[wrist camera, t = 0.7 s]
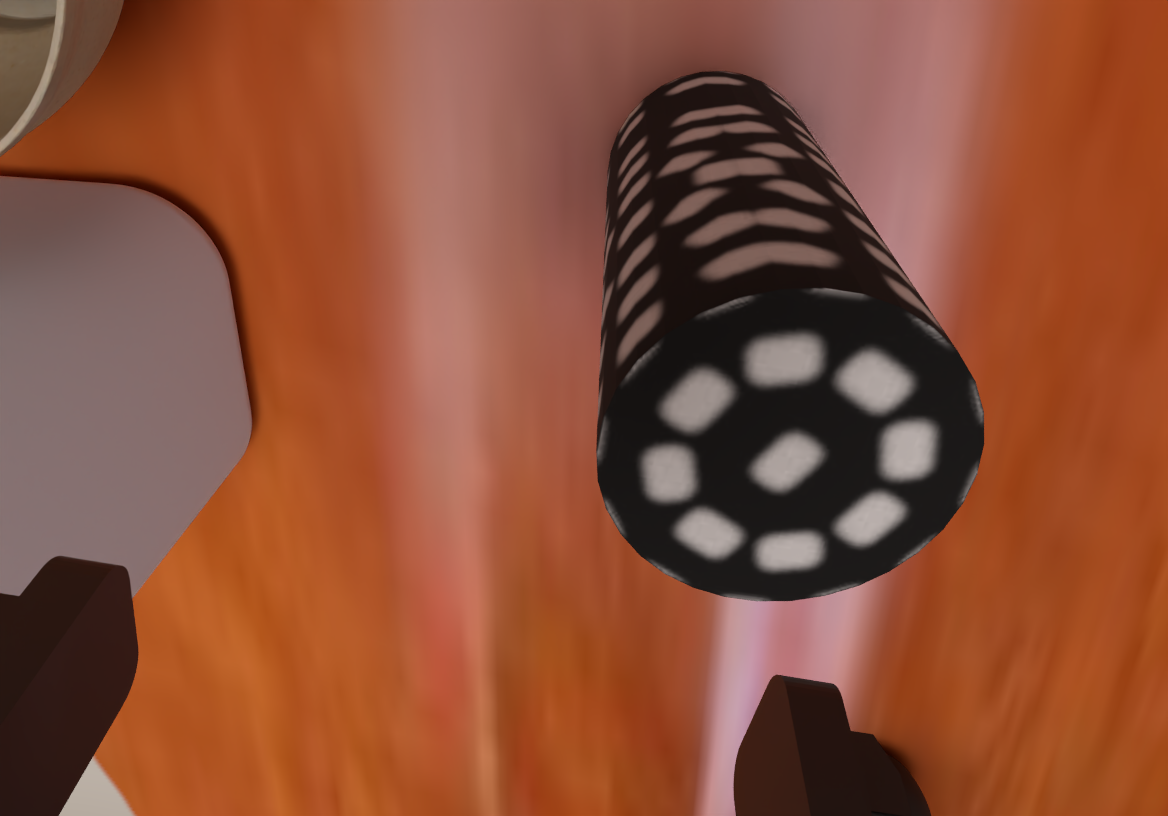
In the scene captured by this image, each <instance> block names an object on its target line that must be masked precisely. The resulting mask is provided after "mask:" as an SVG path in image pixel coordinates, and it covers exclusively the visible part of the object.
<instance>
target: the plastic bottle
mask: <svg viewBox="0 0 1168 816" xmlns="http://www.w3.org/2000/svg"><path fill="white" fill-rule="evenodd" d="M251 430H252V415H251V408H250V402H249V396H248V390H247V384H246V378H245V372H244V366H243V360H242V354H241V348H240V342H239V336H238V330H237V324H236V318H235V312H234V306H233V301H232V295H231V289H230V283H229V278H228V273H227V270H226V267H225V264H224V262H223V259H222V257H221V255H220V253H219V251H218V250H217V248H216V246H215V245H214V243H213V242H212V240H211V239H210V237H209V236H208V235H207V233H206V232H205V231H204V230H203V229H202V228H201V227H200V225H199V224H198V223H197V222H196V221H194V220H193V219H192V218H191V217H190V216H189V215H188V214H186V213H185V212H184V211H183V210H181V209H180V208H178V207H177V206H176V205H174V204H172V203H171V202H169V201H167V200H166V199H164V198H162V197H160V196H157V195H155V194H153V193H150V192H148V191H145V190H142V189H138V188H135V187H130V186H126V185H119V184H109V183H95V182H81V181H66V180H52V179H38V178H24V177H9V176H0V593H3V594H9V595H16V596H20V594H21V593H22V592H23V591H24V589H25V588H26V587H27V586H28V584H29V583H30V582H31V581H32V579H33V578H34V577H35V576H36V575H37V573H38V572H39V571H40V570H41V568H42V567H43V566H44V565H45V564H46V563H47V562H48V561H49V560H50V559H52V558H54V557H56V556H66V557H72V558H78V559H84V560H90V561H97V562H103V563H109V564H115V565H121V566H124V567H125V568H126V569H127V570H128V573H129V577H130V585H131V593H132V598H133V597H134V596H135V594H136V593H137V592H138V591H139V589H140V588H141V587H142V585H143V584H144V583H145V582H146V580H147V579H148V578H149V576H150V575H151V574H152V573H153V571H154V570H155V569H156V567H157V566H158V565H159V564H160V562H161V561H162V560H163V558H164V557H165V556H166V555H167V553H168V552H169V551H170V549H171V548H172V547H173V546H174V544H175V543H176V542H177V540H178V539H179V538H180V537H181V535H182V534H183V533H184V531H185V530H186V529H187V527H188V526H189V525H190V524H191V522H192V521H193V520H194V518H195V517H196V516H197V515H198V513H199V512H200V511H201V509H202V508H203V507H204V506H205V504H206V503H207V502H208V500H209V499H210V498H211V497H212V495H213V494H214V493H215V491H216V490H217V489H218V488H219V486H220V485H221V484H222V482H223V481H224V480H225V479H226V477H227V476H228V475H229V473H230V472H231V471H232V470H233V468H234V467H235V466H236V464H237V463H238V462H239V461H240V459H241V458H242V456H243V454H244V453H245V451H246V449H247V446H248V444H249V440H250V436H251Z"/></svg>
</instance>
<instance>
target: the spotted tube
mask: <svg viewBox="0 0 1168 816" xmlns="http://www.w3.org/2000/svg"><path fill="white" fill-rule="evenodd" d="M983 446H984V411H983V408H982V404H981V400H980V397H979V393H978V390H977V386H976V382H975V380H974V378H973V377H972V375H971V373H970V371H969V370H968V368H967V366H966V365H965V363H964V361H963V360H962V358H961V356H960V354H959V353H958V351H957V350H956V348H955V347H954V345H953V344H952V342H951V341H950V339H949V338H948V336H947V335H946V333H945V332H944V330H943V329H942V327H941V326H940V325H939V323H938V322H937V320H936V319H935V317H934V316H933V314H932V313H931V311H930V310H929V308H928V307H927V305H926V304H925V302H924V301H923V299H922V298H921V296H920V295H919V293H918V292H917V290H916V289H915V287H914V286H913V285H912V283H911V282H910V280H909V279H908V277H907V276H906V274H905V273H904V271H903V270H902V268H901V267H900V265H899V264H898V262H897V261H896V259H895V258H894V256H893V255H892V253H891V252H890V250H889V249H888V247H887V246H886V245H885V243H884V242H883V240H882V239H881V237H880V236H879V234H878V233H877V231H876V230H875V228H874V227H873V225H872V224H871V222H870V221H869V219H868V218H867V216H866V215H865V213H864V212H863V210H862V209H861V207H860V206H859V204H858V203H857V202H856V200H855V199H854V197H853V196H852V194H851V193H850V191H849V190H848V188H847V187H846V185H845V184H844V182H843V181H842V179H841V178H840V176H839V175H838V173H837V172H836V170H835V169H834V167H833V166H832V164H831V163H830V162H829V160H828V159H827V157H826V156H825V154H824V153H823V151H822V150H821V148H820V147H819V145H818V144H817V142H816V141H815V139H814V138H813V136H812V135H811V133H810V132H809V130H808V129H807V127H806V126H805V124H804V123H803V122H802V120H801V119H800V117H799V116H798V114H797V113H796V111H795V110H794V108H793V107H792V106H791V105H790V104H789V103H788V102H787V101H786V100H785V99H784V98H783V97H782V96H781V94H779V93H778V92H776V91H775V90H774V89H772V88H771V87H769V86H768V85H766V84H765V83H763V82H761V81H758V80H756V79H753V78H751V77H748V76H746V75H743V74H737V73H731V72H725V71H716V72H700V73H696V74H692V75H688V76H684V77H680V78H678V79H676V80H674V81H672V82H669V83H667V84H665V85H663V86H661V87H660V88H658V89H657V90H656V91H654V92H653V93H651V94H650V95H649V96H647V97H646V98H645V99H643V100H642V102H641V103H640V104H639V105H638V106H637V107H636V108H635V109H634V110H633V111H632V112H631V113H630V115H629V116H628V118H627V119H626V121H625V122H624V124H623V126H622V127H621V129H620V131H619V132H618V135H617V137H616V140H615V142H614V145H613V148H612V150H611V155H610V161H609V167H608V177H607V202H606V226H605V251H604V276H603V300H602V325H601V350H600V375H599V399H598V424H597V449H596V452H597V473H598V483H599V486H600V490H601V493H602V496H603V500H604V503H605V506H606V509H607V511H608V513H609V514H610V516H611V518H612V520H613V521H614V523H615V525H616V527H617V528H618V530H619V532H620V534H621V535H622V536H623V537H624V538H625V539H626V540H627V541H628V543H629V544H630V545H631V546H632V547H633V548H634V549H635V550H636V551H637V552H638V554H639V555H640V556H641V557H643V558H644V559H646V560H647V561H648V562H650V563H651V564H652V565H654V566H655V567H656V568H658V569H659V570H661V571H662V572H663V573H665V574H666V575H668V576H671V577H673V578H675V579H677V580H679V581H681V582H683V583H685V584H687V585H689V586H691V587H693V588H696V589H700V590H703V591H707V592H710V593H713V594H717V595H720V596H723V597H730V598H737V599H745V600H752V601H793V600H800V599H807V598H813V597H820V596H826V595H829V594H832V593H836V592H839V591H842V590H846V589H849V588H853V587H856V586H859V585H861V584H863V583H865V582H867V581H870V580H872V579H874V578H876V577H878V576H881V575H883V574H885V573H887V572H889V571H891V570H892V569H894V568H895V567H897V566H898V565H900V564H901V563H903V562H904V561H906V560H907V559H909V558H911V557H912V556H914V555H915V554H917V553H918V552H919V551H920V550H921V549H922V548H924V547H925V546H926V545H927V544H928V543H929V542H930V541H931V540H932V539H933V538H934V537H935V536H937V535H938V534H939V533H940V532H941V531H942V530H943V529H944V528H945V526H946V525H947V524H948V522H949V521H950V520H951V518H952V517H953V516H954V514H955V513H956V512H957V510H958V509H959V508H960V506H961V505H962V504H963V502H964V500H965V498H966V496H967V494H968V492H969V490H970V488H971V486H972V483H973V481H974V479H975V477H976V475H977V472H978V468H979V463H980V459H981V455H982V450H983Z"/></svg>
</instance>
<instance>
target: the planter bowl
mask: <svg viewBox="0 0 1168 816" xmlns="http://www.w3.org/2000/svg"><path fill="white" fill-rule="evenodd" d="M123 3H124V0H0V156H2V155H3V154H4V153H6V152H7V151H8V150H10V149H11V148H12V147H13V146H14V145H15V144H16V143H18V142H19V141H20V140H21V139H22V138H23V137H24V136H25V135H26V134H27V133H29V132H30V131H32V130H34V129H35V128H36V127H38V126H39V125H40V124H42V123H43V122H44V121H45V120H47V119H48V118H49V117H50V116H52V115H53V114H54V113H55V112H56V111H57V110H59V109H60V108H61V107H62V106H63V105H64V104H65V103H66V102H67V101H68V100H69V99H70V98H71V97H72V96H73V95H74V94H75V92H76V91H77V90H78V89H79V88H80V87H81V86H82V84H83V83H84V82H85V80H86V79H87V78H88V77H89V75H90V74H91V73H92V71H93V70H94V68H95V67H96V65H97V64H98V62H99V61H100V59H101V57H102V55H103V53H104V51H105V49H106V47H107V46H108V44H109V42H110V39H111V37H112V35H113V32H114V30H115V28H116V26H117V23H118V20H119V16H120V13H121V10H122V7H123Z"/></svg>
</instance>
